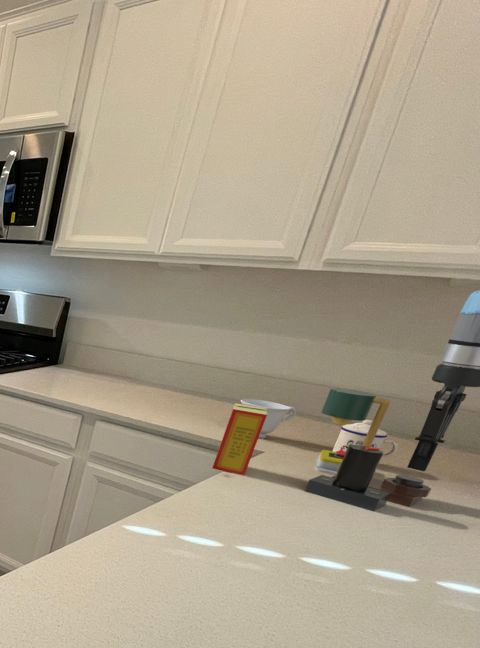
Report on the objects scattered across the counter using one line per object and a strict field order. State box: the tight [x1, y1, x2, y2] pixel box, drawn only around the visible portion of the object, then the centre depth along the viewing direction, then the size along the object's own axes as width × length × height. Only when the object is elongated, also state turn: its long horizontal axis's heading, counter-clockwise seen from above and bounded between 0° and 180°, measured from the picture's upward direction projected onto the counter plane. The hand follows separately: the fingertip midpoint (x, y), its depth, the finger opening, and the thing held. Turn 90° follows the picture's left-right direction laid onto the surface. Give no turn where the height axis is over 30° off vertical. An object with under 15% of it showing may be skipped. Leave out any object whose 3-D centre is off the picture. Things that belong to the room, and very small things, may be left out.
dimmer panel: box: [304, 474, 391, 512], centre depth 133 cm, size 12×10×3 cm
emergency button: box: [314, 449, 346, 476], centre depth 153 cm, size 9×4×15 cm
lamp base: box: [331, 475, 432, 508], centre depth 137 cm, size 15×10×4 cm, turn 31°
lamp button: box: [394, 474, 425, 488], centre depth 133 cm, size 4×4×2 cm
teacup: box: [240, 398, 297, 439], centre depth 180 cm, size 12×15×10 cm
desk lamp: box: [321, 387, 391, 447], centre depth 141 cm, size 12×8×18 cm, turn 31°
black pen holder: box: [333, 445, 384, 491], centre depth 131 cm, size 6×6×9 cm
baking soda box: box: [211, 402, 267, 476], centre depth 147 cm, size 10×6×16 cm
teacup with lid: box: [332, 419, 398, 458], centre depth 159 cm, size 12×9×12 cm
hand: (416, 468), depth 132 cm, fingers closed
